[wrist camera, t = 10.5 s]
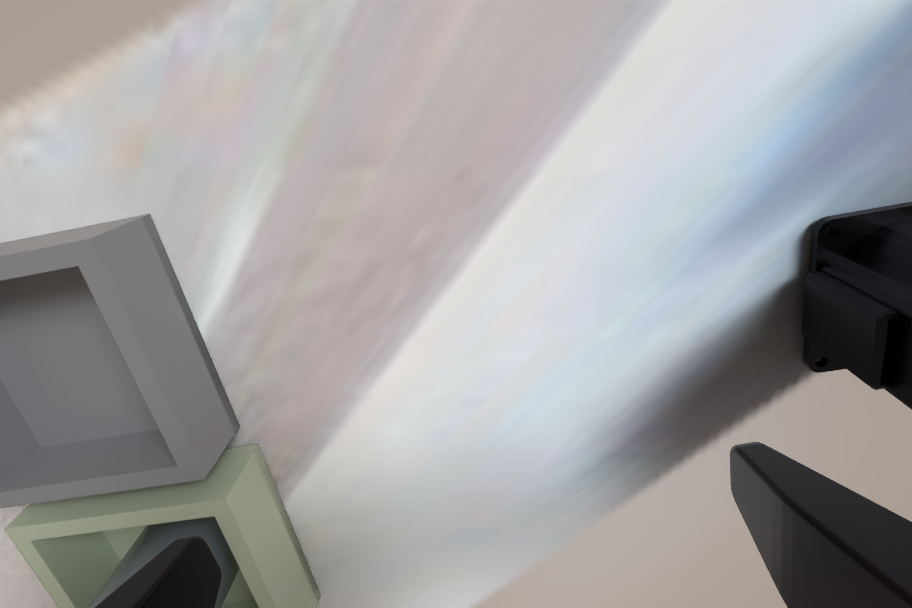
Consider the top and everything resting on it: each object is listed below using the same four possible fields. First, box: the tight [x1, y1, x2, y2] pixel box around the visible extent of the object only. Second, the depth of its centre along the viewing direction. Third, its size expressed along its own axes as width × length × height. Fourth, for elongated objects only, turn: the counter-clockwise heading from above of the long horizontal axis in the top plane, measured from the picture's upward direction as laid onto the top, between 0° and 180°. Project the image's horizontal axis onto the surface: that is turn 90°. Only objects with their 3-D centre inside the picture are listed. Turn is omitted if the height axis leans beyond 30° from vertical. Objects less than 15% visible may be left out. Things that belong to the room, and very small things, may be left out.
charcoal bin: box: [0, 214, 240, 508], centre depth 21 cm, size 10×10×4 cm
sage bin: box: [4, 444, 321, 608], centre depth 25 cm, size 10×10×4 cm
